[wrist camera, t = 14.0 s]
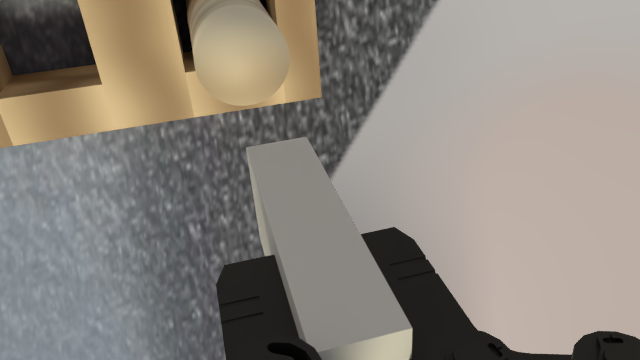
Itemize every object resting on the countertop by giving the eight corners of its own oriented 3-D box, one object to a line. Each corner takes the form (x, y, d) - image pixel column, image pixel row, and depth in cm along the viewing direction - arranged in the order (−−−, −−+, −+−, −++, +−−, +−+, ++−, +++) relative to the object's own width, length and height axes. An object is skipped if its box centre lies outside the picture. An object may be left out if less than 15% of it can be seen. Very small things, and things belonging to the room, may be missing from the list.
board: (-10, 123, 33) (-31, 152, 29) (-94, -74, 27) (-131, -66, 24) (307, 76, 36) (321, 97, 33) (292, -108, 30) (307, -106, 27)
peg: (178, -30, 31) (183, 18, 21) (248, -38, 32) (286, 5, 22) (192, 39, 33) (202, 113, 23) (257, 31, 34) (295, 99, 24)
